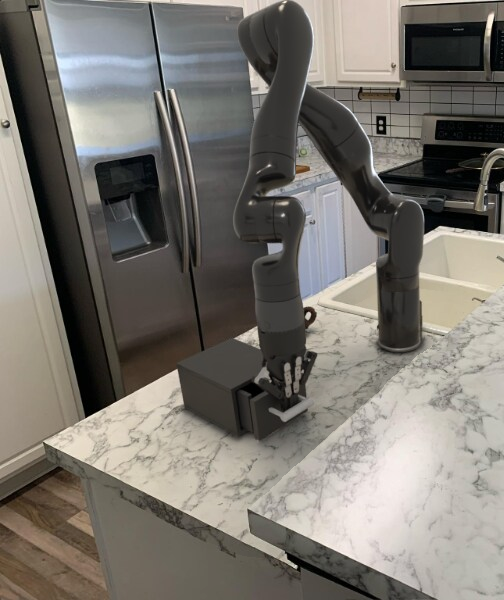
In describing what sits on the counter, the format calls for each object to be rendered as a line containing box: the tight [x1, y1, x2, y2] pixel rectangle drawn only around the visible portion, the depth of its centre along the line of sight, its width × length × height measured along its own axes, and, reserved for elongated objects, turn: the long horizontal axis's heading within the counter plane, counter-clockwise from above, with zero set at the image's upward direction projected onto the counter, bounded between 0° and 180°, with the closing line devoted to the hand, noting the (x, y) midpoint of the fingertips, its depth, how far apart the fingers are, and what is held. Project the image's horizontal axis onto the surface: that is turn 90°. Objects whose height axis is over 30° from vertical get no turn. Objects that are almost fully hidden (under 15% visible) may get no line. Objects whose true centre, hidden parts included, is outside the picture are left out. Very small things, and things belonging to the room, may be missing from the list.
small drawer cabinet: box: [176, 337, 263, 438], centre depth 113 cm, size 16×13×10 cm
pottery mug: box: [303, 306, 318, 333], centre depth 143 cm, size 12×10×8 cm
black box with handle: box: [235, 371, 315, 442], centre depth 108 cm, size 19×11×8 cm, turn 52°
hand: (290, 411), depth 104 cm, fingers closed
